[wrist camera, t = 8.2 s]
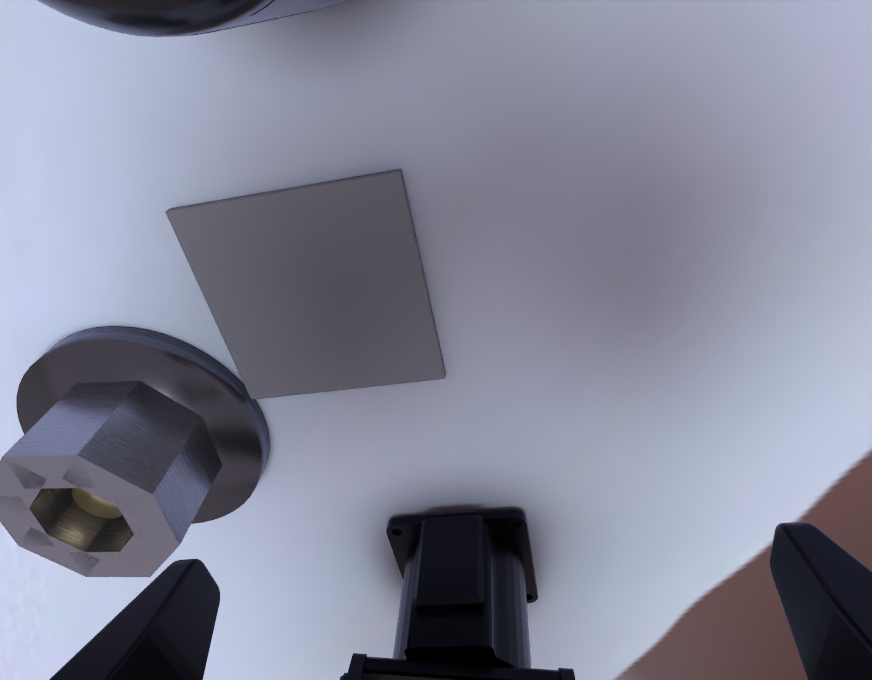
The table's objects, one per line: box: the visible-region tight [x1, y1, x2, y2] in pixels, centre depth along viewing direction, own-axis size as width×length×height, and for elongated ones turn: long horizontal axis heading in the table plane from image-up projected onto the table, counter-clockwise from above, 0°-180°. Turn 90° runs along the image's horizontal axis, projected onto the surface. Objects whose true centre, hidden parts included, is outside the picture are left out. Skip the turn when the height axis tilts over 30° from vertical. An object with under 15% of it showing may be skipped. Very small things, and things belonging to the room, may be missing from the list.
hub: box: [17, 326, 269, 524], centre depth 23 cm, size 10×10×4 cm
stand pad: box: [166, 169, 446, 400], centre depth 20 cm, size 8×8×1 cm
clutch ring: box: [0, 381, 222, 577], centre depth 22 cm, size 6×6×4 cm
